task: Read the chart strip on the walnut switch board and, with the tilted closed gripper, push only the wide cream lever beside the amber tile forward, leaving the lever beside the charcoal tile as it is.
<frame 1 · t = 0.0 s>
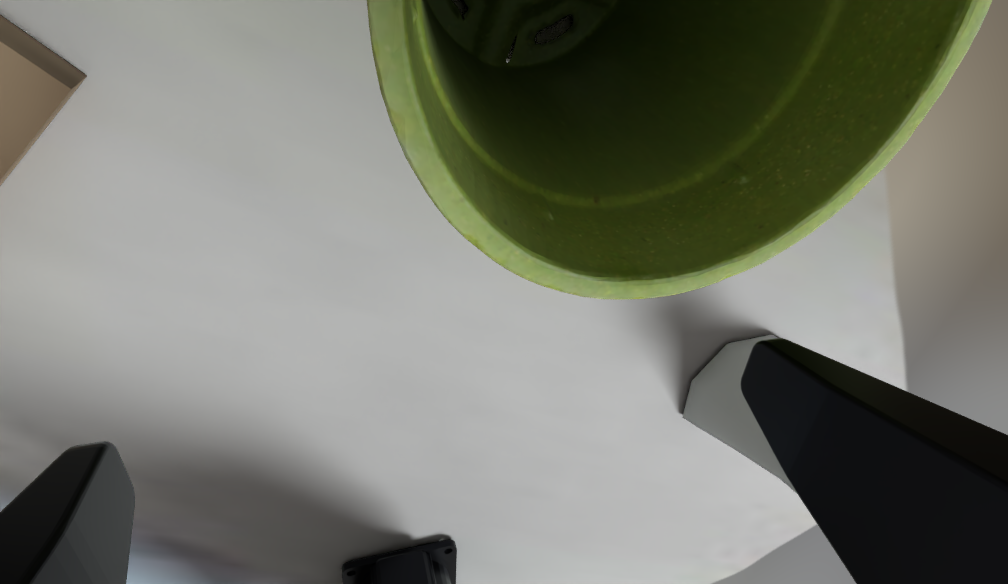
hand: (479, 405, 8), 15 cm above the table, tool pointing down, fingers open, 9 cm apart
flask: (735, 378, 34), on the table
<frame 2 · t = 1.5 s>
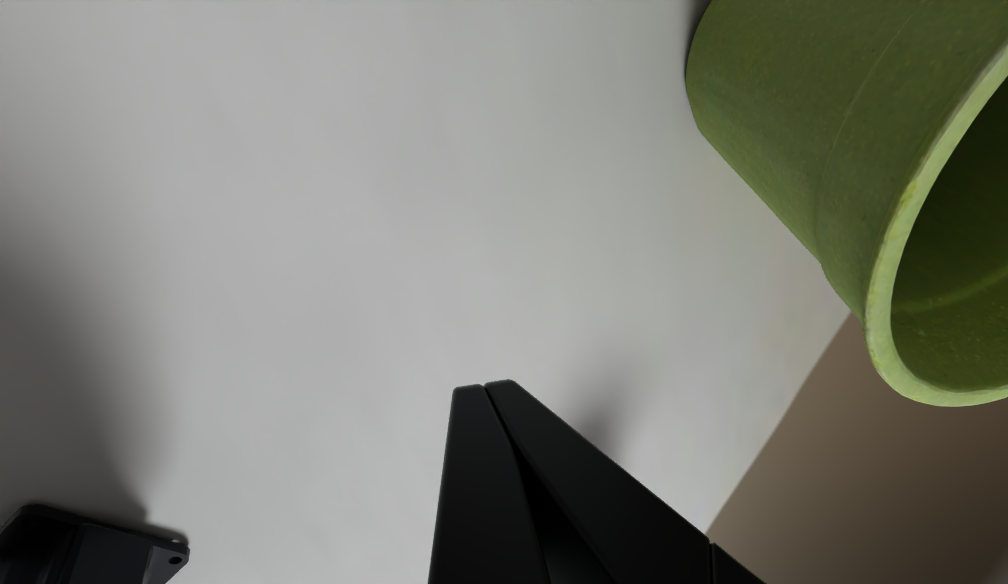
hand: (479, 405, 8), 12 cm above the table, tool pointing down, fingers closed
plant pot: (768, 54, 20), on the table
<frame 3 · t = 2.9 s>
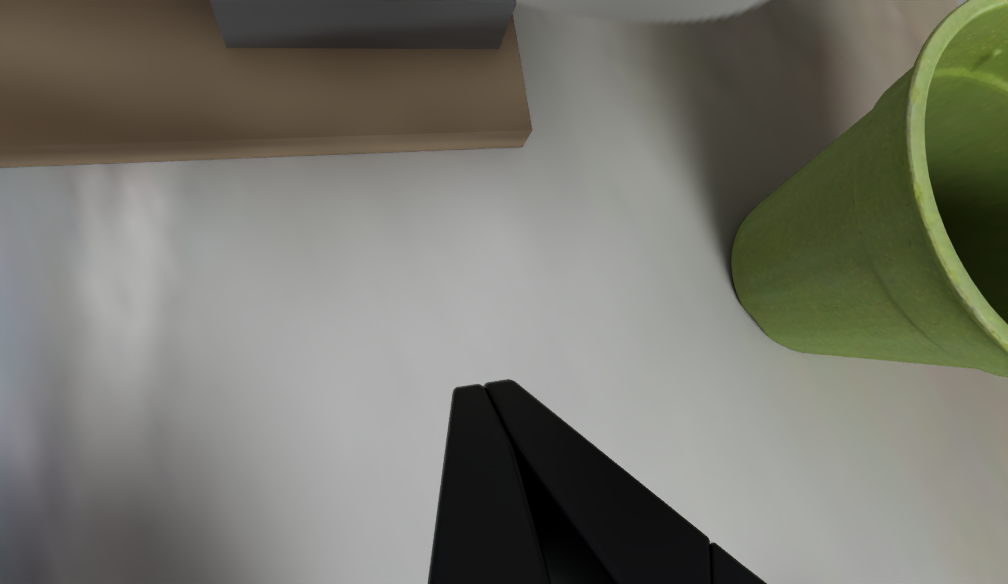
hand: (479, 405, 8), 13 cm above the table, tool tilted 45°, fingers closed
switch board: (107, 10, 21), on the table
plant pot: (794, 278, 26), on the table
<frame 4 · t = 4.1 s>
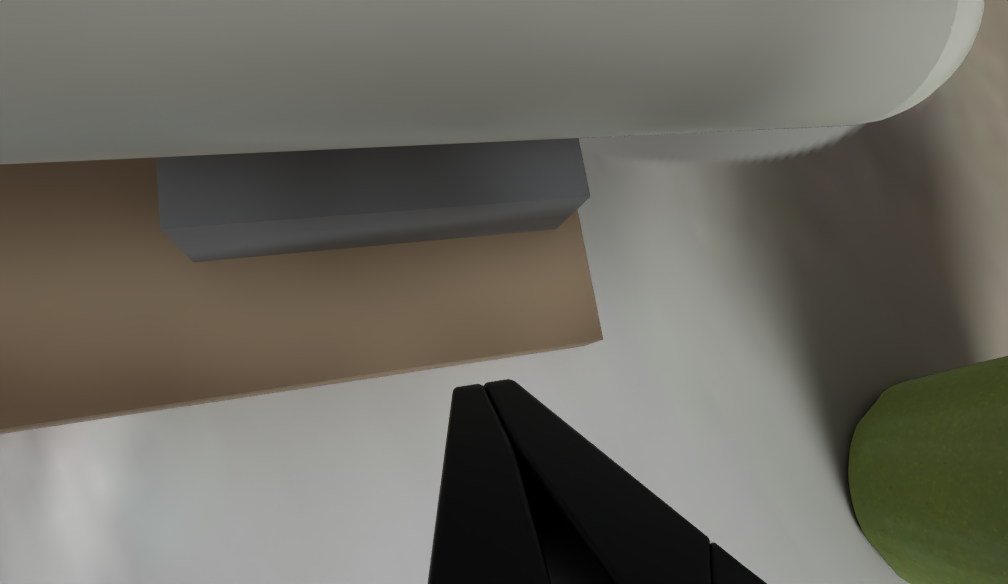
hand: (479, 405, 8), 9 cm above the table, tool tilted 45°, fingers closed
switch board: (29, 203, 16), on the table
plant pot: (920, 485, 21), on the table
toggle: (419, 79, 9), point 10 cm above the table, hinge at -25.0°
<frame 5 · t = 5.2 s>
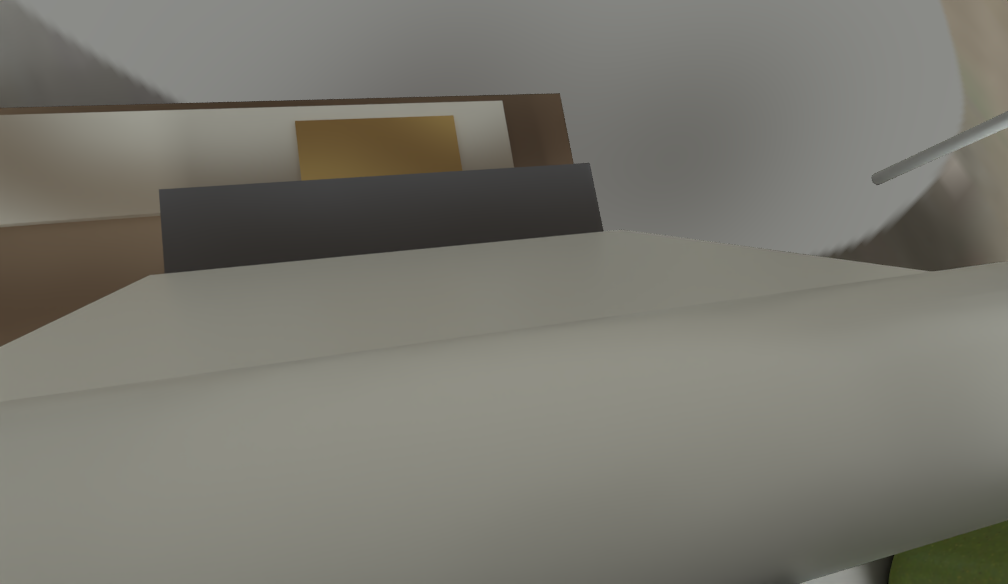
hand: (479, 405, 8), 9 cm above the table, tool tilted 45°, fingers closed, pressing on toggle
lollipop: (872, 181, 23), on the table
switch board: (34, 354, 15), on the table
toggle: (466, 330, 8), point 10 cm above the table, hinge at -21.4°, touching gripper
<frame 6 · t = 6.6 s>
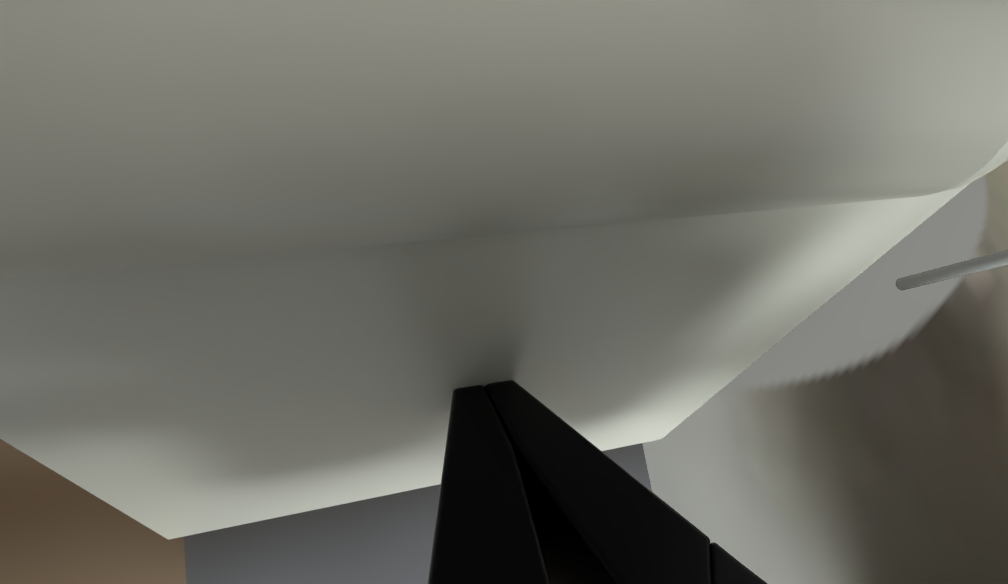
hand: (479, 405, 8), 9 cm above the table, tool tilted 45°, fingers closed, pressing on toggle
lollipop: (896, 285, 23), on the table
switch board: (40, 522, 14), on the table
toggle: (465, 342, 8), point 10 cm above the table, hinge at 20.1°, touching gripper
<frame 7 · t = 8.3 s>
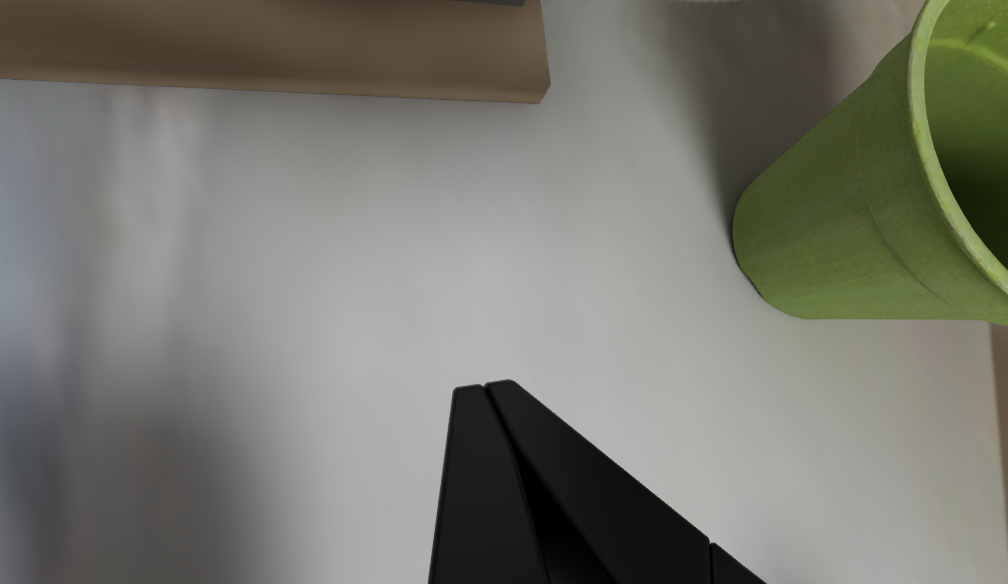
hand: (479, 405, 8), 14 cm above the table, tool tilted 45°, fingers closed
plant pot: (790, 248, 28), on the table
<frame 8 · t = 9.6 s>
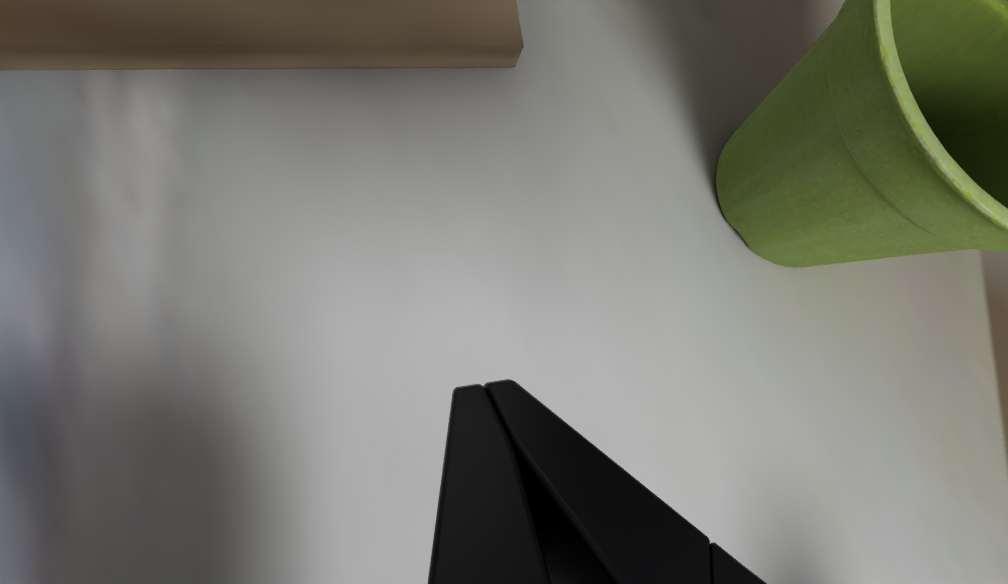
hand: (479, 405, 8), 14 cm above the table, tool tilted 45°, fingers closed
plant pot: (776, 198, 27), on the table
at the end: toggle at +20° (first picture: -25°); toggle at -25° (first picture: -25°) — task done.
